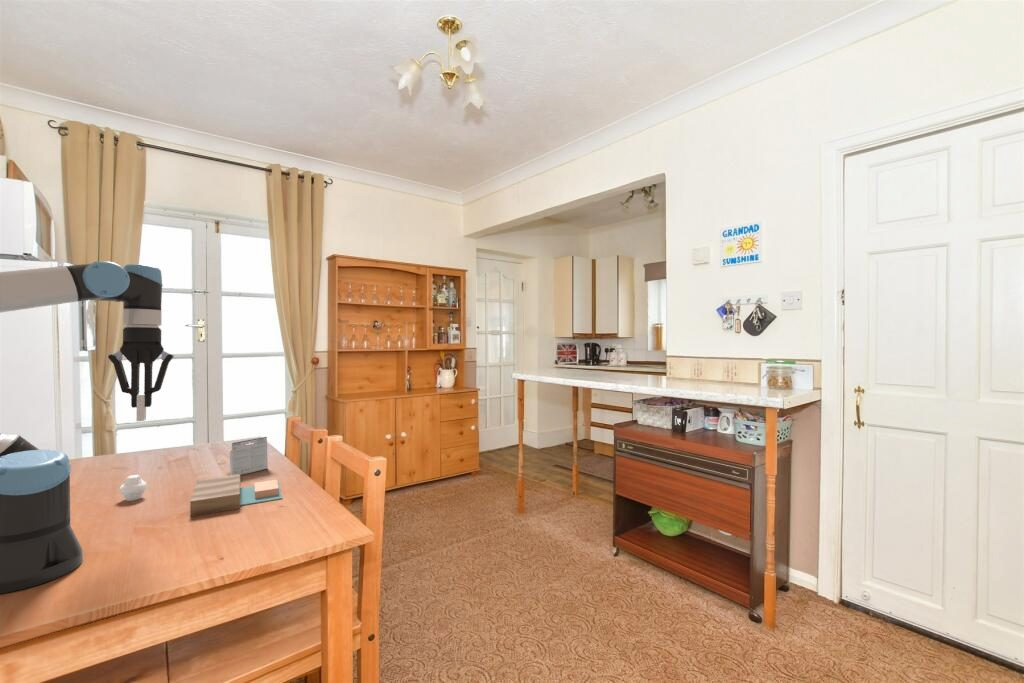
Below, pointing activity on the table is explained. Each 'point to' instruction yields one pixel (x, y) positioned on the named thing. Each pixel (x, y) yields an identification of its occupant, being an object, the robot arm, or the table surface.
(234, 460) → the ink box
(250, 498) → the mat
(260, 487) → the block
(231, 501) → the brown wooden slab
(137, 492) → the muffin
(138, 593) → the table surface
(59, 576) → the robot arm
